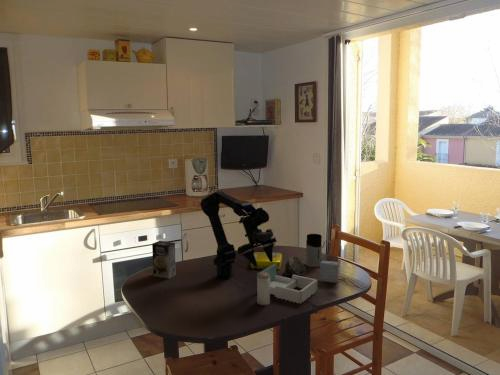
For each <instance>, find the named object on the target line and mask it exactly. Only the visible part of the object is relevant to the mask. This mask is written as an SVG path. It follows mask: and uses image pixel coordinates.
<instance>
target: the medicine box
mask: <svg viewBox="0 0 500 375" xmlns="http://www.w3.org/2000/svg"><path fill="white" fill-rule="evenodd" d="M339 265H340V264H339V261H330V260H329V261H328V260H322V261H321V263H320V266H319V281H320V282H326V283H335V284H338V281H339Z"/></svg>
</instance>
